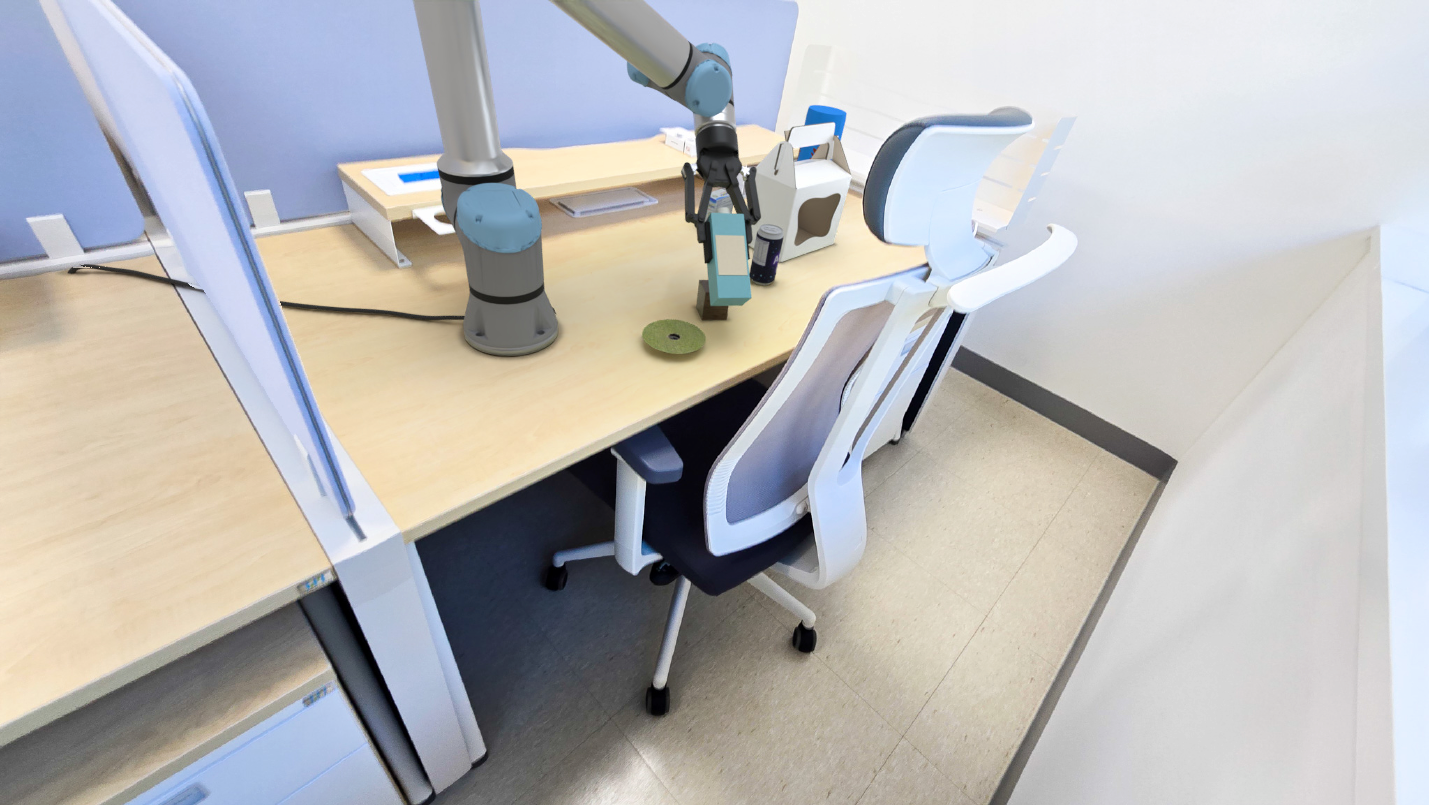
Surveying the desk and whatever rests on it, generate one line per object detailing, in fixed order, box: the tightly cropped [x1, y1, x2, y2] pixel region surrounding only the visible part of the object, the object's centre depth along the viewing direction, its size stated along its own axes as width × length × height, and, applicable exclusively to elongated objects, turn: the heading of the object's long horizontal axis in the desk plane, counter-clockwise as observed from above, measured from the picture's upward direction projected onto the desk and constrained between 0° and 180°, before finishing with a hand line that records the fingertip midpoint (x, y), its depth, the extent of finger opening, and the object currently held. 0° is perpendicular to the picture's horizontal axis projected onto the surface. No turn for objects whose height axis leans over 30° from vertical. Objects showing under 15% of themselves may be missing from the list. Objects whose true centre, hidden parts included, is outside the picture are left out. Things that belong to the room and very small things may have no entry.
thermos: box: [796, 104, 847, 162], centre depth 165 cm, size 11×11×25 cm
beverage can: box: [749, 224, 784, 286], centre depth 123 cm, size 6×6×12 cm
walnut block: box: [695, 279, 730, 321], centre depth 111 cm, size 5×5×6 cm
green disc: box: [641, 318, 707, 355], centre depth 102 cm, size 11×11×2 cm
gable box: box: [746, 122, 853, 263], centre depth 137 cm, size 22×13×28 cm, turn 135°
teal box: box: [705, 207, 752, 307], centre depth 101 cm, size 6×14×14 cm, turn 15°
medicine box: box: [705, 188, 734, 221], centre depth 145 cm, size 8×4×9 cm, turn 144°
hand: (727, 260), depth 101 cm, fingers closed on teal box, 6 cm apart
